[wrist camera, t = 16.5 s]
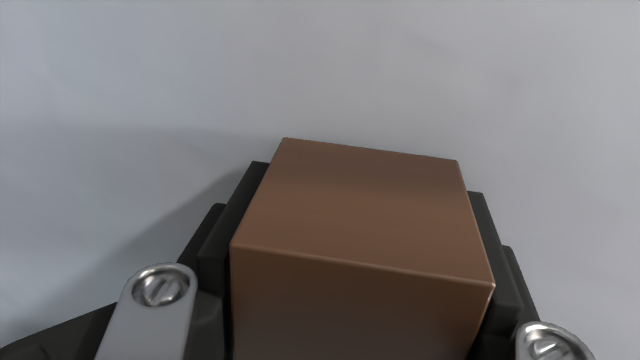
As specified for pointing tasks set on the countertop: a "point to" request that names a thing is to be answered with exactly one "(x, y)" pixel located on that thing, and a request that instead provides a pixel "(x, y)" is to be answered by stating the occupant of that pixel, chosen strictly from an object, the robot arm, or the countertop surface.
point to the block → (357, 258)
